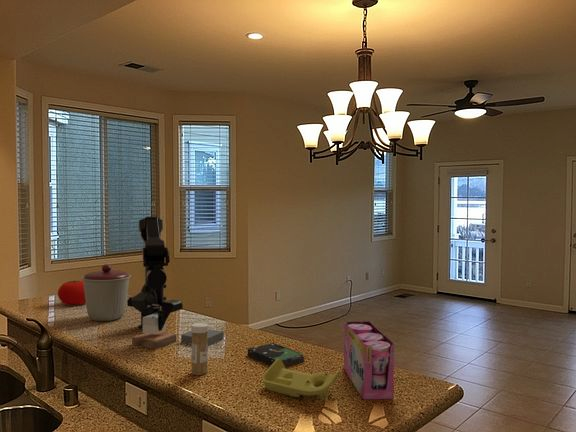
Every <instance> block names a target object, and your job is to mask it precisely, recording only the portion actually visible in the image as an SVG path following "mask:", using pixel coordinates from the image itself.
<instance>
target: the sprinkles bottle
mask: <svg viewBox="0 0 576 432" xmlns="http://www.w3.org/2000/svg"><path fill="white" fill-rule="evenodd" d="M190 327H191V328H190V331H191V332H192V344H191V371H190V372H191V374H193V375H194V376H202V375H206V374H207V373H208V371H209V369H208V358H209V357H208V356H209V354H208V352H209V350H208V347H209V346H208V344H207V333H208V329H209V324H208V323H205V322H196V323H193V324H191V326H190Z"/></svg>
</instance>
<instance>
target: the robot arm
mask: <svg viewBox="0 0 576 432" xmlns="http://www.w3.org/2000/svg"><path fill="white" fill-rule="evenodd" d="M163 225H164V224H163V219H161V218H160V217H158V216H146V217H145V216H144V218H142V219H139V220H138V233H139V232H140V238H141V240H142V241H143V243H144V247H142V266H143V267H144V284H143V286H142V287H141V289H140V292H139V293H137V294H135V295H133V296H129V298H127V302H126V307H131V308H132V307H133V309H135V310H136V311H138V312H140V324H139V325H137V328H142V329H143V317H145V316H148V315H151V314H154V313H157V315H158V328H159V331H161V330H162V328H163V326H164V324H165V322H166V323H167V319H168V318H169V316H170V315H171V313H175V312H177V311H178V312H179V311H180V310H183V302H182V300H177V299H170V300H167V296H165V295H164V294H165V292H164V290H165V289H166V288H167V284H166V282H167V274H166V272H165V267H168V266H169V264H170V259H171V258H170V250H169V249H168V247H167V246H166V245H165V244H166V243H165V241H164V240H162V239H161V233H162V232H163V230H164V229H163V228H164V226H163ZM161 332H162V331H161Z"/></svg>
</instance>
